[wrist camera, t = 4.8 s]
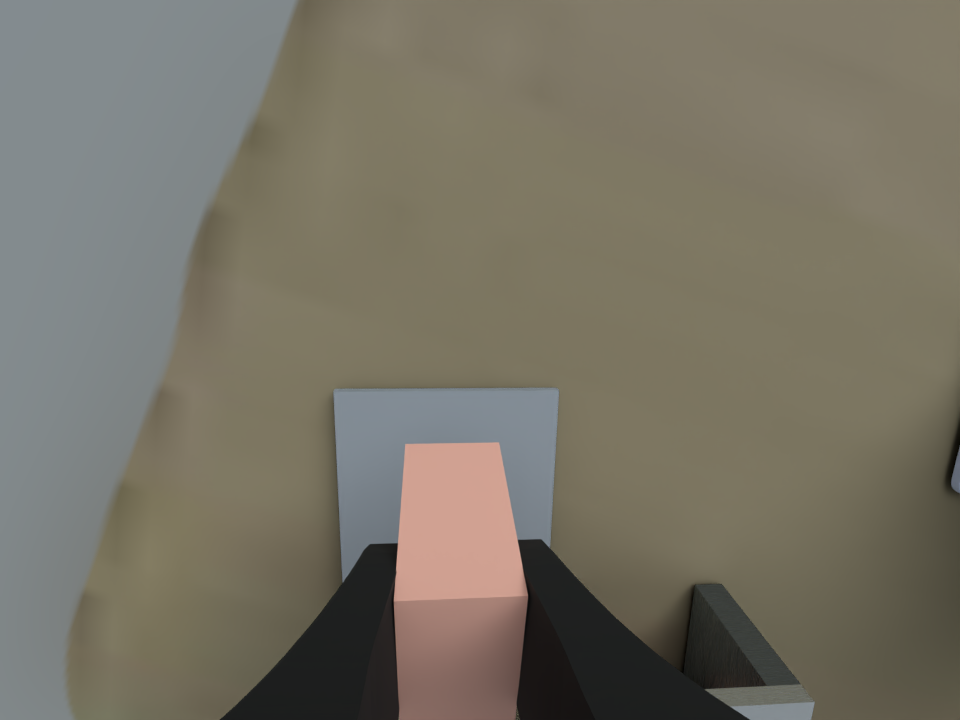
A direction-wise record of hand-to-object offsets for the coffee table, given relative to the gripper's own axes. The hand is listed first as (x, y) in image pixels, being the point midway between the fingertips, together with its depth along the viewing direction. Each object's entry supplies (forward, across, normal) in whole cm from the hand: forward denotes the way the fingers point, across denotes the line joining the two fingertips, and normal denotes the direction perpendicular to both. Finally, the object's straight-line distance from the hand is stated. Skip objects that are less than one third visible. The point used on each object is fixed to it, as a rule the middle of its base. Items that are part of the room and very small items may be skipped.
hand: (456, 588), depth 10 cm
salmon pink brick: (+3, 0, +2) cm, 3 cm away
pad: (+8, 0, +2) cm, 8 cm away
